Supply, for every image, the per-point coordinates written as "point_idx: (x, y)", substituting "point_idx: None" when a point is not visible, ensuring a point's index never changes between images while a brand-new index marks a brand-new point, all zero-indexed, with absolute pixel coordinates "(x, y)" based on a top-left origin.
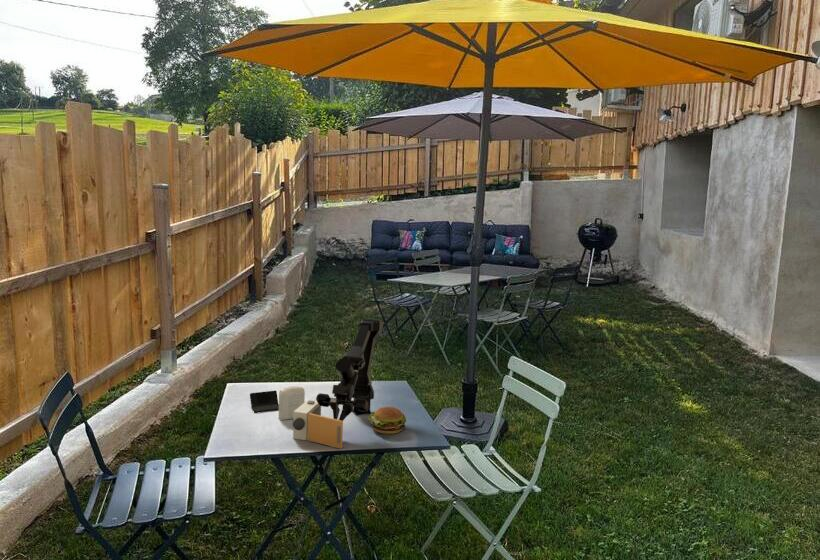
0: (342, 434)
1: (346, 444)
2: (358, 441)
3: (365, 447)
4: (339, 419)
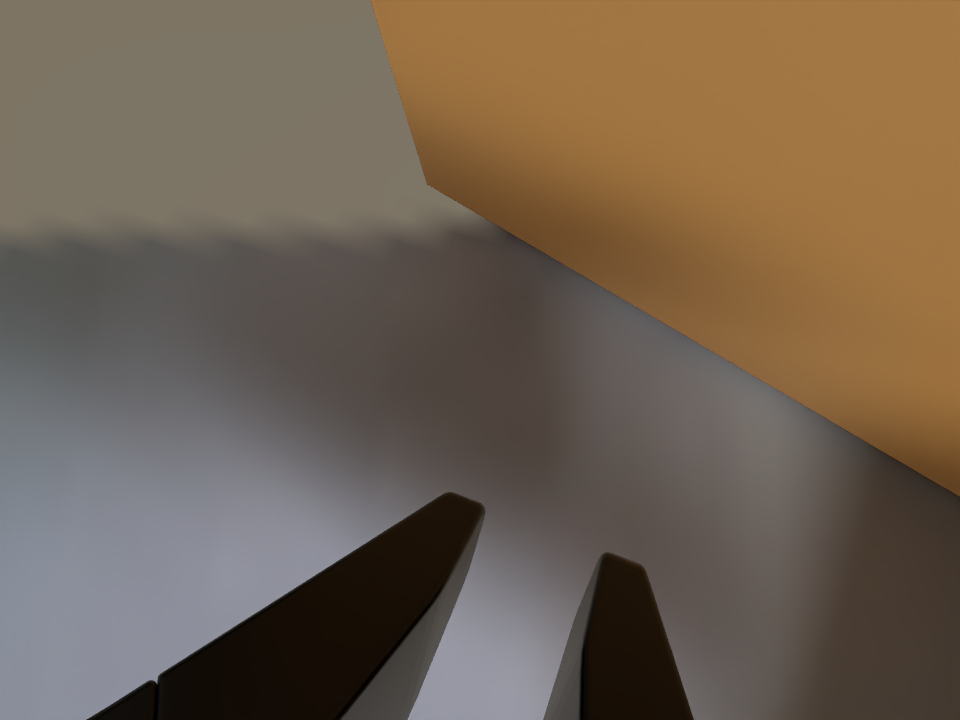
0: (377, 21)
1: (339, 370)
2: (96, 506)
3: (18, 239)
4: (406, 584)
